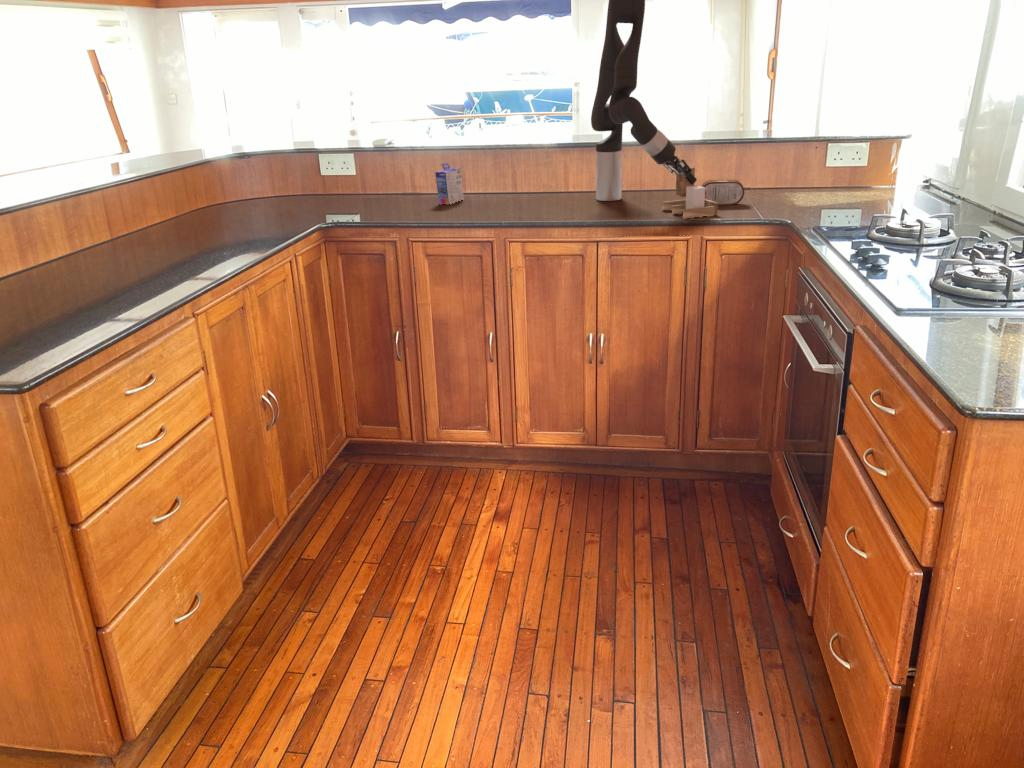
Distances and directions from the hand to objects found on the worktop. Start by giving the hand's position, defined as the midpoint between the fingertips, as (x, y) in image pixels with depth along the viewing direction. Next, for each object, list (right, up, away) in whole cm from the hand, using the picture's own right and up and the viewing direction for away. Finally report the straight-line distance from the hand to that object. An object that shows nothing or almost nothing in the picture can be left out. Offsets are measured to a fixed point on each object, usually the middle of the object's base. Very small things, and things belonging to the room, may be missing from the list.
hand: (690, 181), depth 264 cm
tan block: (-2, -4, +1) cm, 5 cm away
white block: (+1, -12, -3) cm, 12 cm away
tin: (+13, -6, +11) cm, 18 cm away
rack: (0, -11, 0) cm, 11 cm away
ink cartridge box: (-82, +2, +40) cm, 91 cm away
